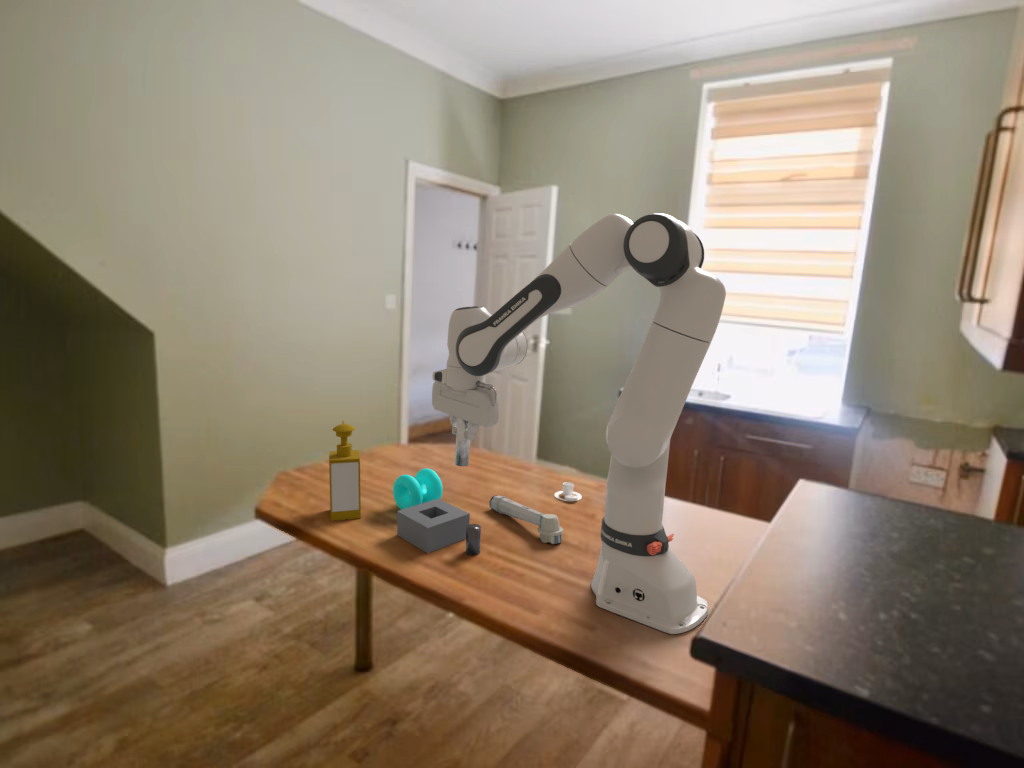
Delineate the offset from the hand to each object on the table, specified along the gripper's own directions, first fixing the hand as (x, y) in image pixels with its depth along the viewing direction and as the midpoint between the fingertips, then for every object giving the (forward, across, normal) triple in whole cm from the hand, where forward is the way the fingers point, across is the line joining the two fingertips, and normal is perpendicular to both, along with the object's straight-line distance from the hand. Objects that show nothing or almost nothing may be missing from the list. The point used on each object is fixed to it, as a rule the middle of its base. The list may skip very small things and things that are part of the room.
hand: (463, 436), depth 128 cm
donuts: (+25, +19, -1) cm, 31 cm away
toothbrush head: (+24, -7, -16) cm, 30 cm away
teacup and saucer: (+24, 0, -36) cm, 44 cm away
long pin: (+7, 0, 0) cm, 7 cm away
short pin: (+24, -9, +3) cm, 26 cm away
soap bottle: (+25, +30, +14) cm, 41 cm away
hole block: (+24, +3, +5) cm, 25 cm away
